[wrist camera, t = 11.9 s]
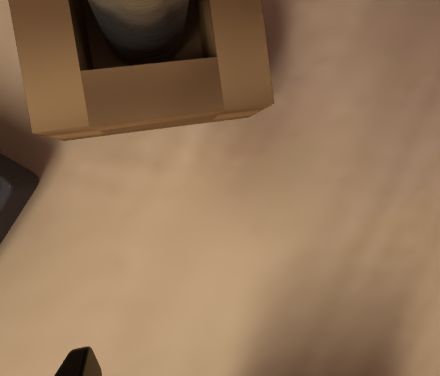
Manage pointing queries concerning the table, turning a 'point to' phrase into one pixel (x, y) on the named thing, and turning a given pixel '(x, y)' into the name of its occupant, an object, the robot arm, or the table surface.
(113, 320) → the table surface
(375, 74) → the table surface
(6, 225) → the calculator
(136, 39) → the pin
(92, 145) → the table surface
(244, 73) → the hole block
